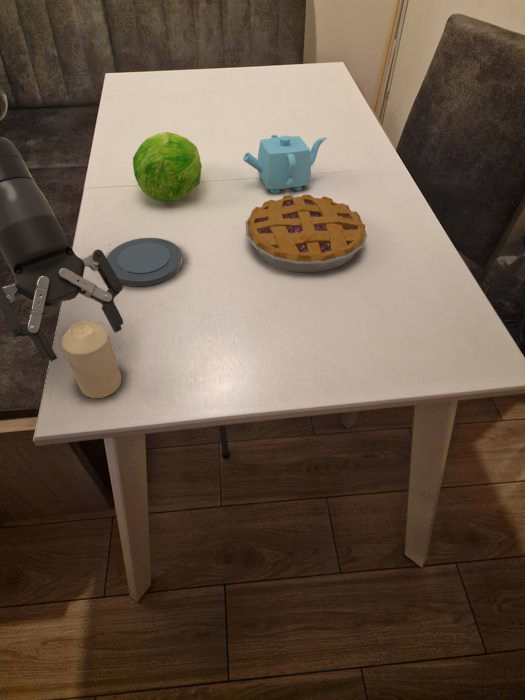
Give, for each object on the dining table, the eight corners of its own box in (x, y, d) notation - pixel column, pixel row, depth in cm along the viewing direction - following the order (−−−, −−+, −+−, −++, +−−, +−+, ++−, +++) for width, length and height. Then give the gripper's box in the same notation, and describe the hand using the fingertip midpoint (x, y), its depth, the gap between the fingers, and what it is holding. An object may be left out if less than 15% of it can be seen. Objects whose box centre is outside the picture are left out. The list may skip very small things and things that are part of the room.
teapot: (250, 202, 100) (250, 154, 93) (236, 172, 109) (234, 126, 102) (332, 192, 103) (338, 145, 96) (311, 164, 113) (315, 119, 105)
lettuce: (208, 168, 111) (204, 113, 102) (201, 213, 97) (195, 153, 88) (147, 167, 111) (138, 113, 102) (132, 212, 97) (120, 153, 88)
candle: (130, 382, 65) (114, 328, 58) (95, 405, 63) (74, 352, 55) (106, 361, 68) (88, 307, 61) (71, 383, 65) (49, 329, 58)
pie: (341, 207, 99) (344, 184, 95) (382, 270, 84) (387, 245, 80) (235, 218, 95) (235, 195, 92) (258, 286, 80) (259, 261, 77)
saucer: (103, 289, 79) (101, 283, 78) (110, 245, 88) (108, 239, 87) (183, 283, 81) (182, 276, 80) (181, 240, 90) (180, 234, 89)
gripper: (-41, 236, 53) (31, 369, 55) (83, 197, 59) (144, 317, 61) (-34, 255, 59) (31, 372, 61) (77, 218, 65) (132, 325, 67)
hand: (87, 345), depth 61 cm, fingers open, 8 cm apart
